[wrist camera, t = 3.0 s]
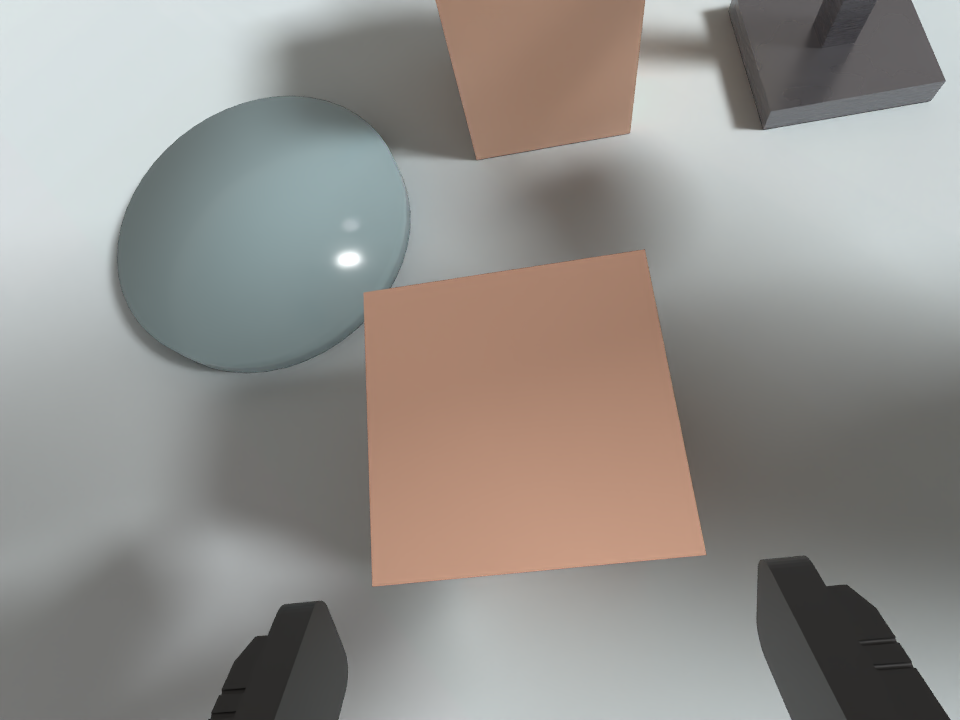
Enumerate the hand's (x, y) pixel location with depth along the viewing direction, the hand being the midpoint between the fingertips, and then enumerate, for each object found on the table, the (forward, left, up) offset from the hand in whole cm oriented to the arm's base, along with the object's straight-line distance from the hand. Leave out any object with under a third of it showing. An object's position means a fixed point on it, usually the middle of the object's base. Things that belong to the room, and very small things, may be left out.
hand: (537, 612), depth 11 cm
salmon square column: (-2, -20, -9) cm, 22 cm away
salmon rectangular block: (0, -4, -9) cm, 9 cm away
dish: (+10, -15, -9) cm, 20 cm away
